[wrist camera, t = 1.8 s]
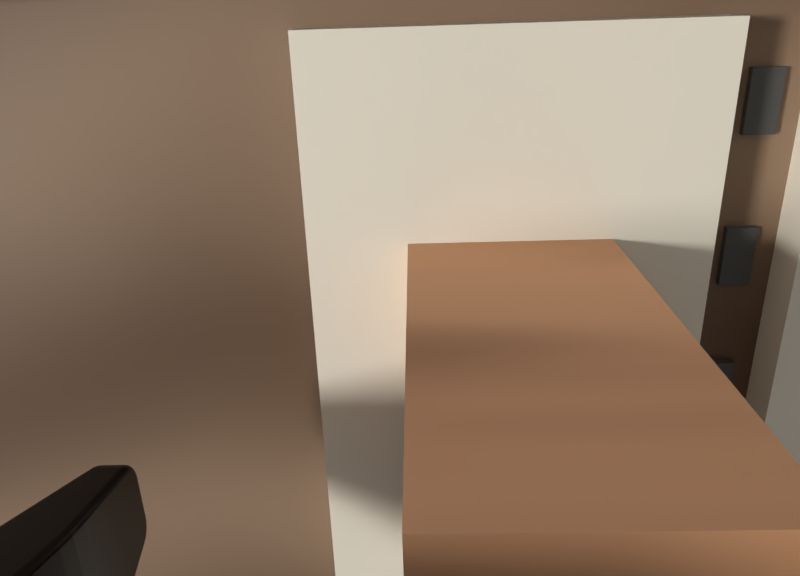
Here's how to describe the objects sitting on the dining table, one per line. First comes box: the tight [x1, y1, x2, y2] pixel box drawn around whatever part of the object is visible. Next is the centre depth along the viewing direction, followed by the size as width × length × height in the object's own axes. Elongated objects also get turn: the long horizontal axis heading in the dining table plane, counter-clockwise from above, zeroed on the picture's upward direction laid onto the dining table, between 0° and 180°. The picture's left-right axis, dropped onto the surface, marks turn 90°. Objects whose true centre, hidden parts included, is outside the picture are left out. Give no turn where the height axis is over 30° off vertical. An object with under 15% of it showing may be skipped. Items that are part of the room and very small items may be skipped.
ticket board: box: [0, 0, 800, 576], centre depth 10 cm, size 14×22×2 cm, turn 92°
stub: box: [288, 14, 800, 576], centre depth 7 cm, size 10×5×6 cm, turn 2°
